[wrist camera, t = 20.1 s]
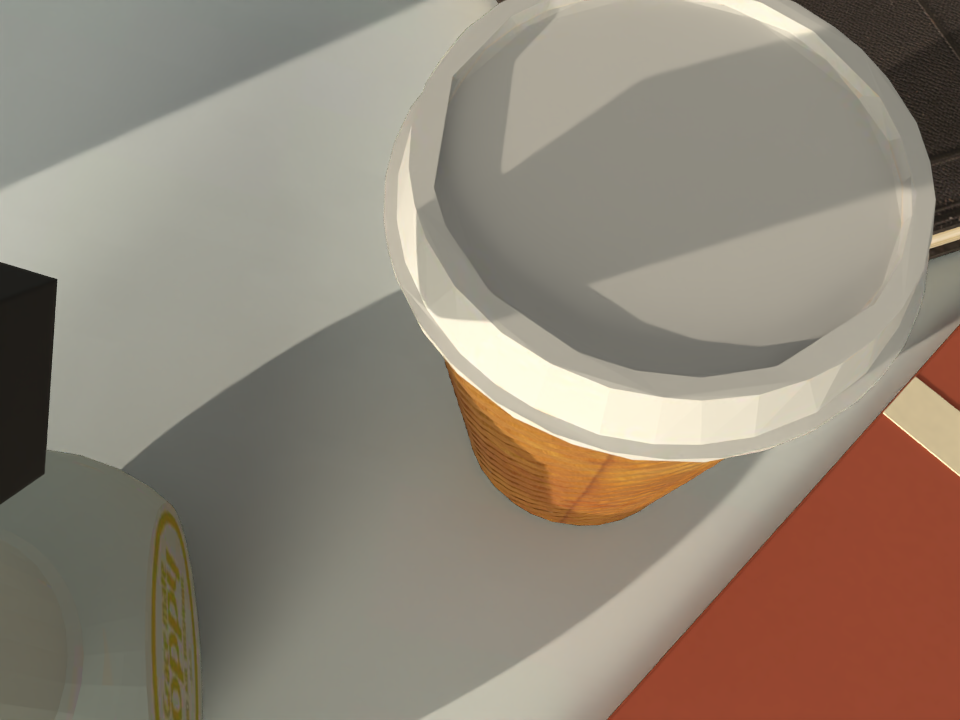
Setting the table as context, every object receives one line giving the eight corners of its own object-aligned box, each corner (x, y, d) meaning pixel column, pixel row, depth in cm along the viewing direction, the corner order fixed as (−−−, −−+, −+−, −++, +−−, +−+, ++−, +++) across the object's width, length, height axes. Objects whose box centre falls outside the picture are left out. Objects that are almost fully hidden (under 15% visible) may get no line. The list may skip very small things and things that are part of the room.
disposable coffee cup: (536, 218, 28) (589, -127, 17) (804, 388, 26) (1057, 115, 15) (339, 448, 25) (252, 200, 14) (627, 663, 23) (789, 568, 12)
